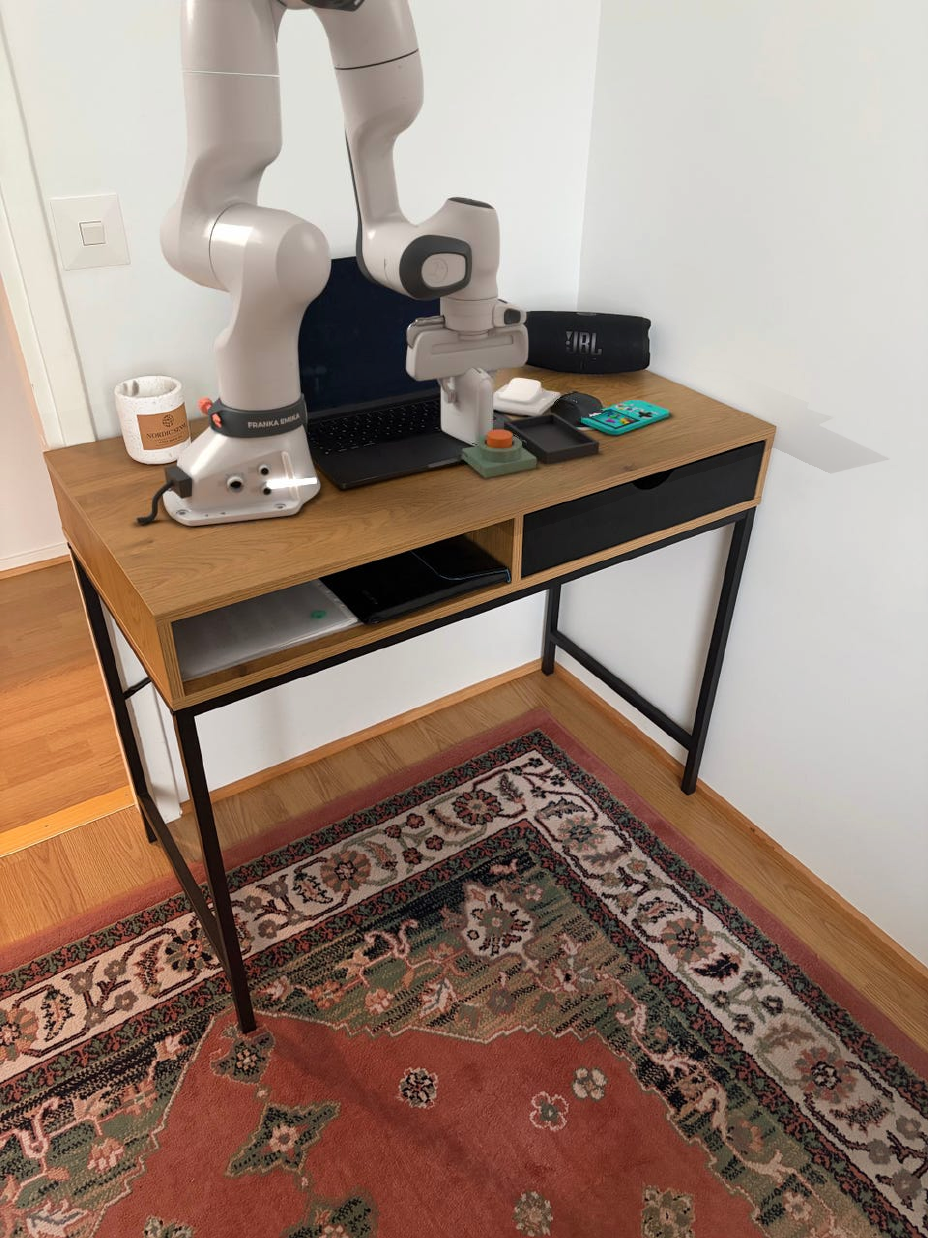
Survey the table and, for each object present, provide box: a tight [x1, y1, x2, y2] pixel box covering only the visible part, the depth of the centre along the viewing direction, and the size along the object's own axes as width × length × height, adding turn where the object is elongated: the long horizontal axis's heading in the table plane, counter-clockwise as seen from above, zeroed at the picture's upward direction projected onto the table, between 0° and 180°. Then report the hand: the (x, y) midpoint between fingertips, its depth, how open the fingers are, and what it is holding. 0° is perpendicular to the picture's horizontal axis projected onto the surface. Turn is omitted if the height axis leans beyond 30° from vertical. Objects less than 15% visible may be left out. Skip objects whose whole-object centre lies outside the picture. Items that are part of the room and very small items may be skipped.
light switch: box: [493, 377, 562, 417], centre depth 163 cm, size 11×4×13 cm
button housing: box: [461, 435, 538, 479], centre depth 142 cm, size 9×8×4 cm
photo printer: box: [440, 368, 495, 447], centre depth 147 cm, size 10×4×12 cm, turn 39°
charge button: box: [487, 428, 513, 449], centre depth 141 cm, size 4×4×2 cm
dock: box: [503, 412, 600, 465], centre depth 149 cm, size 10×14×2 cm
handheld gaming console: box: [580, 399, 670, 436], centre depth 159 cm, size 8×1×15 cm
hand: (466, 399), depth 147 cm, fingers closed on photo printer, 5 cm apart
